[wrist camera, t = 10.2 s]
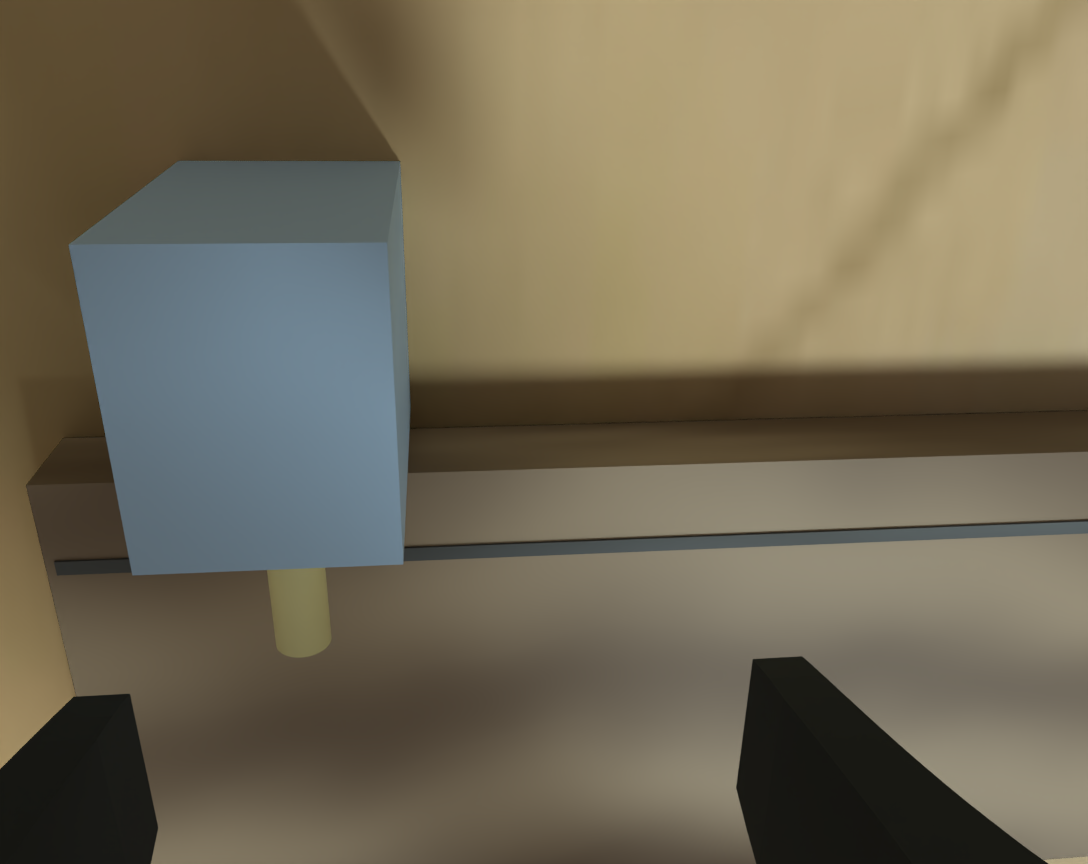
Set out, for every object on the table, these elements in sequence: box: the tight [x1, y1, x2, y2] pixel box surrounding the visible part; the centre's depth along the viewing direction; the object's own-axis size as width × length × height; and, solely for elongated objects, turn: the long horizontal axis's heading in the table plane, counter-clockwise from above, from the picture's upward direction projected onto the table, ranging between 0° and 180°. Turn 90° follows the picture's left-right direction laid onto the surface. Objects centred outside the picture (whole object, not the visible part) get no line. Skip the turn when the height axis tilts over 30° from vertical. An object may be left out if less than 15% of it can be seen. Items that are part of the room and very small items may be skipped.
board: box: [26, 411, 1088, 864], centre depth 23 cm, size 12×30×2 cm, turn 89°
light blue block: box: [69, 161, 411, 658], centre depth 17 cm, size 8×4×6 cm, turn 179°
